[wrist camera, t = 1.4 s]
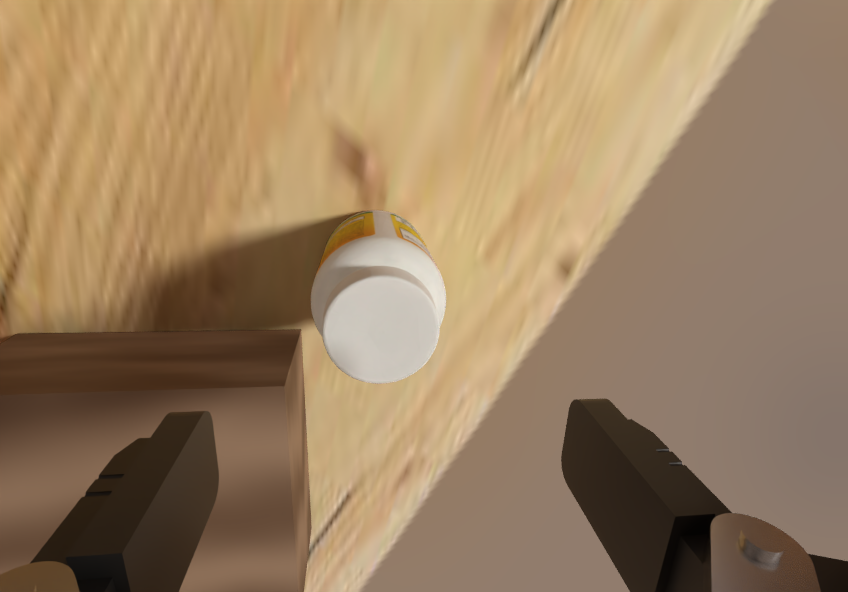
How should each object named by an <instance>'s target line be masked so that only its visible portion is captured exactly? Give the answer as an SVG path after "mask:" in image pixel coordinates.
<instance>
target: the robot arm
mask: <svg viewBox="0 0 848 592" xmlns="http://www.w3.org/2000/svg"><path fill="white" fill-rule="evenodd" d="M561 458H562V459H561V461H562V471H563V475H564V478H565V481H566V483H567V485H568V487H569V488H570V490H571V492H572V494H573V495H574V497H575V499H576V500H577V502H578V504H579V505H580V507H581V509H582V511H583V512H584V514H585V515H586V517H587V519H588V521H589V522H590V524H591V526H592V527H593V529H594V531H595V533H596V534H597V536H598V538H599V539H600V541H601V543H602V544H603V546H604V548H605V549H606V551H607V553H608V555H609V556H610V558H611V560H612V562H613V563H614V565H615V567H616V568H617V570H618V572H619V573H620V575H621V577H622V579H623V580H624V582H625V584H626V585H627V587H628V589H629V590H630V592H848V561H843V560H837V559H832V558H827V557H822V556H817V555H811V554H808V553H807V552H806V551H805V550H804V548H803V547H802V546H801V545H800V544H799V543H798V542H797V541H795V540H794V539H793V538H792V537H791V536H789V535H788V534H787V533H785V532H784V531H782V530H781V529H779V528H777V527H775V526H773V525H771V524H770V523H768V522H765V521H763V520H761V519H758V518H755V517H752V516H749V515H744V514H738V513H732V512H731V511H730V510H728V508H727V507H726V506H725V505H724V504H723V503H722V502H721V501H720V500H719V499H718V498H717V497H716V496H715V495H714V494H713V493H712V492H711V491H710V490H709V489H708V488H707V487H706V486H705V485H704V484H703V483H702V482H701V481H700V480H699V479H698V478H697V477H696V476H695V475H694V474H693V473H692V472H691V471H690V470H689V469H688V468H687V467H686V466H685V465H682V461H681V460H679V458H678V457H677V456H676V455H675V454H674V453H673V452H669V448H668V447H667V446H666V445H665V444H664V443H663V442H662V441H661V440H660V439H659V438H658V437H657V436H656V435H655V434H654V433H653V432H651V431H650V430H648V429H646V428H645V427H643V426H641V425H640V424H638V423H636V422H635V421H633V420H632V419H631V420H627V418H626V417H625V416H624V415H623V414H622V413H621V412H620V411H619V410H618V409H617V408H616V407H615V406H614V405H613V404H612V403H611V402H610V401H609V400H608V399H582V400H581V399H580V400H574V401H573V402H572V403H571V405H570V408H569V413H568V419H567V425H566V432H565V437H564V444H563V450H562V457H561ZM218 486H219V469H218V461H217V453H216V445H215V437H214V429H213V421H212V416H211V414H210V412H208V411H191V412H170V413H168V414H167V415H166V416H165V417H164V419H163V420H162V422H161V423H160V425H159V426H158V427H157V429H156V430H155V432H154V433H153V434H152V436H151V437H150V438H138V439H137V440H135V441H134V442H132V443H131V444H130V445H128V446H127V447H125V448H124V449H123V450H121V451H120V452H118V453H117V454H115V455H114V456H113V458H112V459H111V460H110V462H109V463H108V464H107V465H106V467H105V468H104V469H103V470H102V472H101V473H100V474H99V478H98V479H95V481H94V482H93V483H92V485H91V486H90V487H89V488H88V490H87V491H86V492H85V497H81V499H80V500H79V501H78V502H77V504H76V505H75V506H74V508H73V509H72V510H71V511H70V513H69V514H68V515H67V516H66V518H65V519H64V520H63V522H62V523H61V524H60V525H59V527H58V528H57V529H56V531H55V532H54V533H53V534H52V536H51V537H50V538H49V539H48V541H47V542H46V543H45V545H44V546H43V547H42V548H41V550H40V551H39V552H38V554H37V555H36V556H35V557H34V559H33V560H32V561H31V562H30V564H26V565H23V566H20V567H17V568H14V569H12V570H9V571H7V572H5V573H3V574H1V575H0V592H179V590H180V588H181V585H182V583H183V580H184V578H185V575H186V573H187V571H188V568H189V566H190V563H191V561H192V558H193V556H194V553H195V551H196V548H197V546H198V543H199V541H200V538H201V536H202V534H203V531H204V529H205V526H206V524H207V521H208V519H209V516H210V514H211V511H212V509H213V506H214V504H215V501H216V497H217V492H218Z"/></svg>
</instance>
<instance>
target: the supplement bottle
mask: <svg viewBox="0 0 848 592" xmlns="http://www.w3.org/2000/svg"><path fill="white" fill-rule="evenodd" d="M445 308H446V291H445V286H444V282H443V279H442V276H441V274H440V271H439V269H438V267H437V265H436V263H435V261H434V260H433V258H432V256H431V254H430V252H429V251H428V249H427V247H426V245H425V243H424V241H423V239H422V238H421V236H420V234H419V233H418V232H417V230H416V229H415V228H414V227H413V226H412V225H411V224H410V223H409V222H408V221H406V220H405V219H404V218H402V217H400V216H398V215H396V214H394V213H391V212H387V211H380V210H372V211H364V212H361V213H358V214H355V215H353V216H351V217H350V218H348V219H346V220H345V221H344V222H342V223H341V224H340V225H339V226H338V227H337V228H336V229H335V230H334V232H333V233H332V234H331V236H330V238H329V240H328V242H327V244H326V247H325V250H324V253H323V256H322V259H321V262H320V265H319V268H318V270H317V273H316V276H315V279H314V283H313V286H312V291H311V311H312V315H313V319H314V322H315V325H316V327H317V329H318V331H319V333H320V334H321V336H322V337H323V342H324V345H325V348H326V350H327V353H328V355H329V356H330V358H331V360H332V361H333V362H334V363H335V365H336V366H337V367H338V368H339V369H340V370H342V371H343V372H344V373H346V374H347V375H349V376H351V377H353V378H355V379H357V380H360V381H364V382H368V383H377V384H381V383H391V382H396V381H399V380H402V379H404V378H406V377H408V376H410V375H412V374H414V373H415V372H417V371H418V370H419V369H420V368H422V367H423V366H424V365H425V364H426V362H427V361H428V360H429V359H430V357H431V356H432V354H433V352H434V350H435V348H436V345H437V342H438V338H439V329H440V325H441V323H442V320H443V317H444V313H445Z"/></svg>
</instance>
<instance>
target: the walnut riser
mask: <svg viewBox="0 0 848 592" xmlns="http://www.w3.org/2000/svg"><path fill="white" fill-rule="evenodd" d="M191 411H208V412H210V414H211V416H212V421H213V429H214V437H215V445H216V453H217V461H218V469H219V486H218V492H217V497H216V501H215V504H214V506H213V509H212V511H211V514H210V516H209V519H208V521H207V524H206V526H205V529H204V531H203V534H202V536H201V538H200V541H199V543H198V546H197V548H196V551H195V553H194V556H193V558H192V561H191V563H190V566H189V568H188V571H187V573H186V575H185V578H184V580H183V583H182V585H181V588H180V590H179V592H304V585H305V577H306V568H307V560H308V552H309V544H310V536H311V510H310V491H309V472H308V452H307V433H306V414H305V395H304V376H303V356H302V337H301V330H239V331H172V332H104V333H37V334H16V335H14V336H12V337H11V338H9V339H7V340H6V341H4V342H2V343H1V344H0V575H1V574H3V573H5V572H7V571H9V570H12V569H14V568H17V567H20V566H23V565H26V564H30V562H31V561H32V560H33V559H34V557H35V556H36V555H37V554H38V552H39V551H40V550H41V548H42V547H43V546H44V545H45V543H46V542H47V541H48V539H49V538H50V537H51V536H52V534H53V533H54V532H55V531H56V529H57V528H58V527H59V525H60V524H61V523H62V522H63V520H64V519H65V518H66V516H67V515H68V514H69V513H70V511H71V510H72V509H73V508H74V506H75V505H76V504H77V502H78V501H79V500H80V499H81V497H85V492H86V491H87V490H88V488H89V487H90V486H91V485H92V483H93V482H94V481H95V479H98V478H99V474H100V473H101V472H102V470H103V469H104V468H105V467H106V465H107V464H108V463H109V462H110V460H111V459H112V458H113V456H114V455H115V454H117V453H118V452H120V451H121V450H123V449H124V448H125V447H127V446H128V445H130V444H131V443H132V442H134V441H135V440H137V439H138V438H150V437H151V436H152V434H153V433H154V432H155V430H156V429H157V427H158V426H159V425H160V423H161V422H162V420H163V419H164V417H165V416H166V415H167V414H168V413H170V412H191Z"/></svg>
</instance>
